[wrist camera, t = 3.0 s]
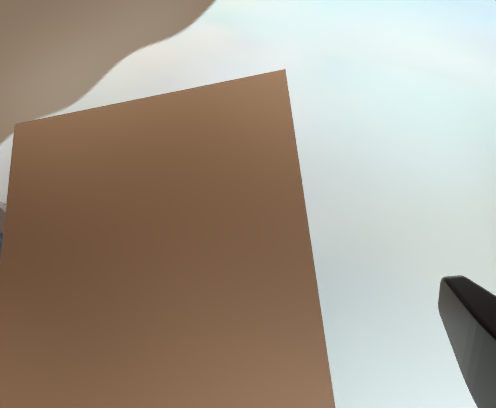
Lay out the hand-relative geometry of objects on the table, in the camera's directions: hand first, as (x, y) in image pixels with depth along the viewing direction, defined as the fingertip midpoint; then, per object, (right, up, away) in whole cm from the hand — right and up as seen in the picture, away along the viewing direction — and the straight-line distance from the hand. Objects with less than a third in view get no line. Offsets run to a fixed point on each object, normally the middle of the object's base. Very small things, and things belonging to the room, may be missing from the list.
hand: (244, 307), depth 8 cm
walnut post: (+1, -1, +8) cm, 8 cm away
